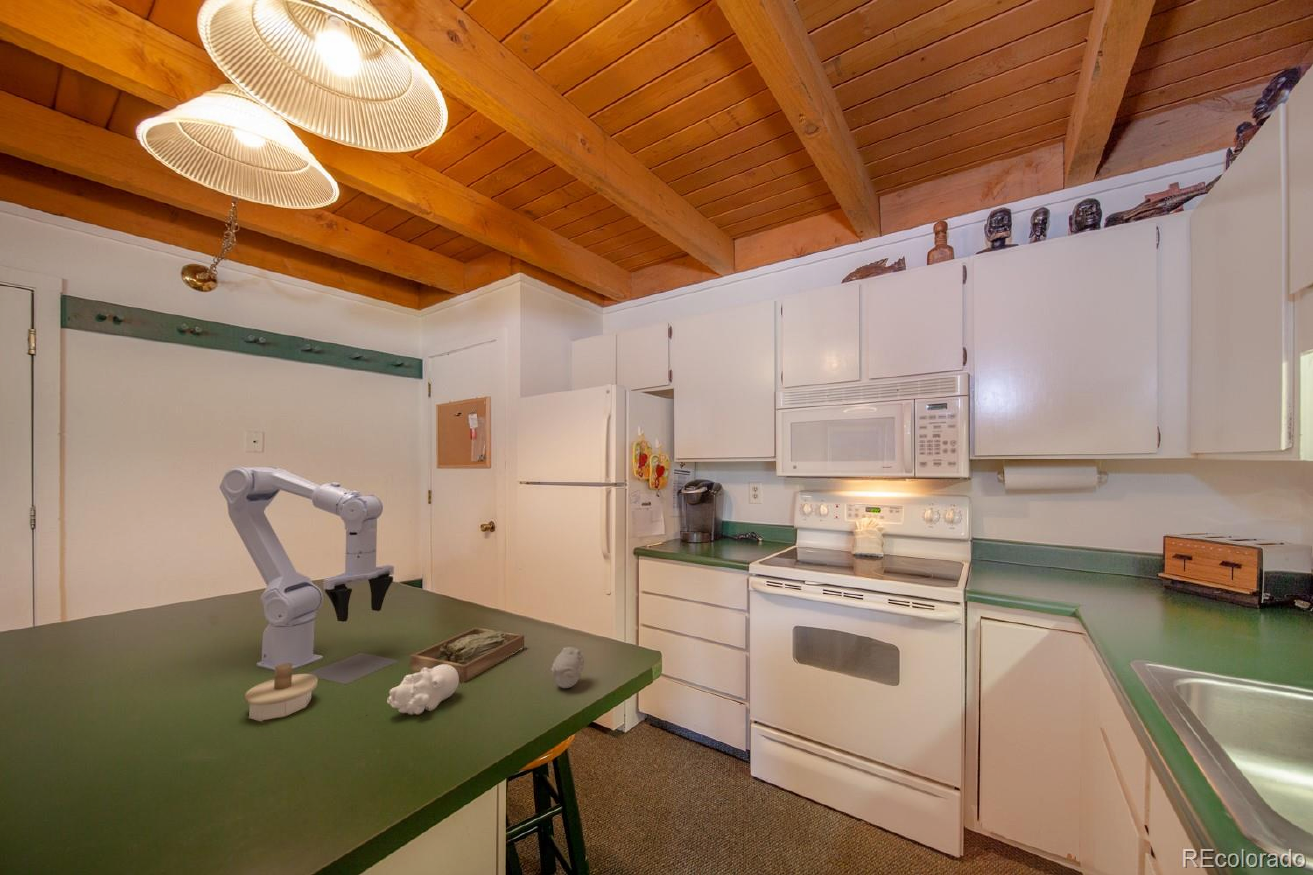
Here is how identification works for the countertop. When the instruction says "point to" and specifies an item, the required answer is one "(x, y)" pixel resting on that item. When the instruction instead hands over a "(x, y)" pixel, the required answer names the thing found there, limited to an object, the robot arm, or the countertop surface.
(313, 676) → the lid
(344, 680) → the mat
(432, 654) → the frame
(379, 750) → the countertop surface
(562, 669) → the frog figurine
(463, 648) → the dried leaf bundle
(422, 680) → the figurine
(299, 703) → the bowl
